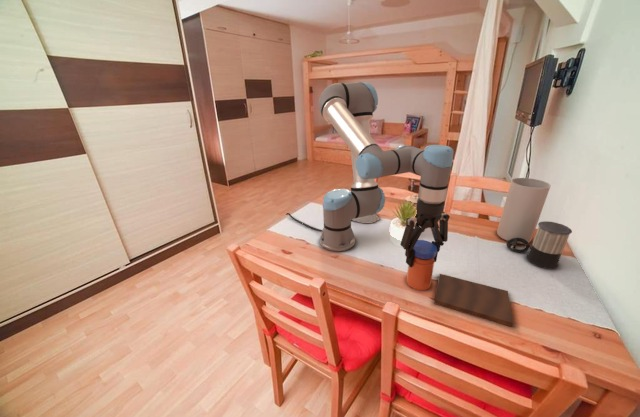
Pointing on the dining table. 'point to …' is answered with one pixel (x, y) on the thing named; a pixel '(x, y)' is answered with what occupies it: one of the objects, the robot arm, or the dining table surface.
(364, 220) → the grey speckled mound
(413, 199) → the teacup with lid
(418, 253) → the jar lid
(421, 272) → the jar
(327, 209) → the robot arm
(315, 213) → the dining table surface
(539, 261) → the milk frother
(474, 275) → the dining table surface
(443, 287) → the board
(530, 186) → the cylinder vase
